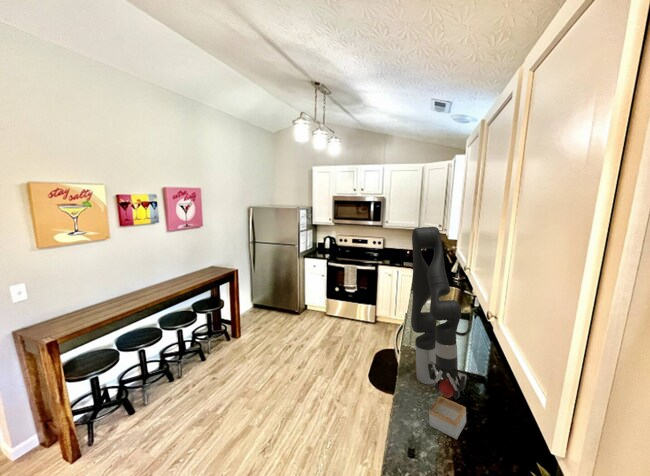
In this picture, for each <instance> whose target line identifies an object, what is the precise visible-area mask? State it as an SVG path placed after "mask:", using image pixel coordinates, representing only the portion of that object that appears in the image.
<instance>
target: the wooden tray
mask: <svg viewBox="0 0 650 476" xmlns="http://www.w3.org/2000/svg"><path fill="white" fill-rule="evenodd" d="M428 415H429V416H428V417H429V423H428V424H429V426H430V427H432V428H434V429H436V430H437V431H439V432H441V433H443V434H446V435H447V436H449V437H451V438H453V439H455V440H458V438H459V436H460V434H461V433H462V431H463V429H464V427H465V426H466V425H467V407H466V406H464V405H462V404H459V403H457V402H455V401H453V400H450V399H449V398H447V397H445V396H444V397H443V396H442V395H439V396H438V398H437V399H436V400H435V402H434V403H433V404H432V406H430V408H429V410H428Z"/></svg>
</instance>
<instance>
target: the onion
mask: <svg viewBox="0 0 650 476" xmlns="http://www.w3.org/2000/svg"><path fill="white" fill-rule="evenodd" d="M440 381H441V382H440V383H439V390H440V391H439V393H441V394H442V396H444V398H446V399H449V398H451V397H454V387H453V385H452V384H451V382H450V381H449V380H447V379H445V378H442V379H440Z"/></svg>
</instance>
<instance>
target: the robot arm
mask: <svg viewBox="0 0 650 476" xmlns="http://www.w3.org/2000/svg"><path fill="white" fill-rule="evenodd" d="M442 241H443V240H442V235H441V232H440V230H439V228H438V227H436V226H425V227H424V226H423V227H415V228H414V229H413V230H412V233H411V245H412V261H413V262H412V308H411V317H410V319H411V320H410V322H411V328H412V331H413V333H414V332H415V333H416V334H417V333H418V334H420V335H418V336H417V337H415V341H414V342H415V367H416V369H415V372H416V373H415V374H416V379H417V381H418V382H419V383H422V384H424V385H434V386H435V390H436V392H438V393H440V390H439V383H440V382H441V379H447V380H449V381H450V382H451V384H452V385H453V387H454V395H453V399H454V400H457V399H459V398H460V396H461V393H460V392H463V391H465V388H466V384H467V378H468V374H467V373H466V372H465V373H462V372H460V371H459V369H458V368H459V367H458V365H459V363H458V345H457V331H458V327H459V323H460V322H461V317H462V307H461V305H460V303H459V302H458V301H457V300H454V299H449V300H440V298H441V297H444V296H447V295H449V294H450V292H451V287H450V284H449V280H448V276H447V272H446V265H445V258H444V250H443V243H442ZM425 249H427V250H428V249H433V258H432V260H431V261H430V262H431V263H430V264H429V265H428V263H427V262H426V261H425V259H424V257H423V254H422V250H425ZM429 299H430V303H429V304H430V305H429V312H428V311H425V312H423V311H422V310H423V307H424V306H425V304H426V303H427V302H428V300H429ZM437 321H439V322H440V321H445V322H442V323H439V324H437ZM457 376H458V377H459V379H458V377H457ZM459 380H460V382H459Z"/></svg>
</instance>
